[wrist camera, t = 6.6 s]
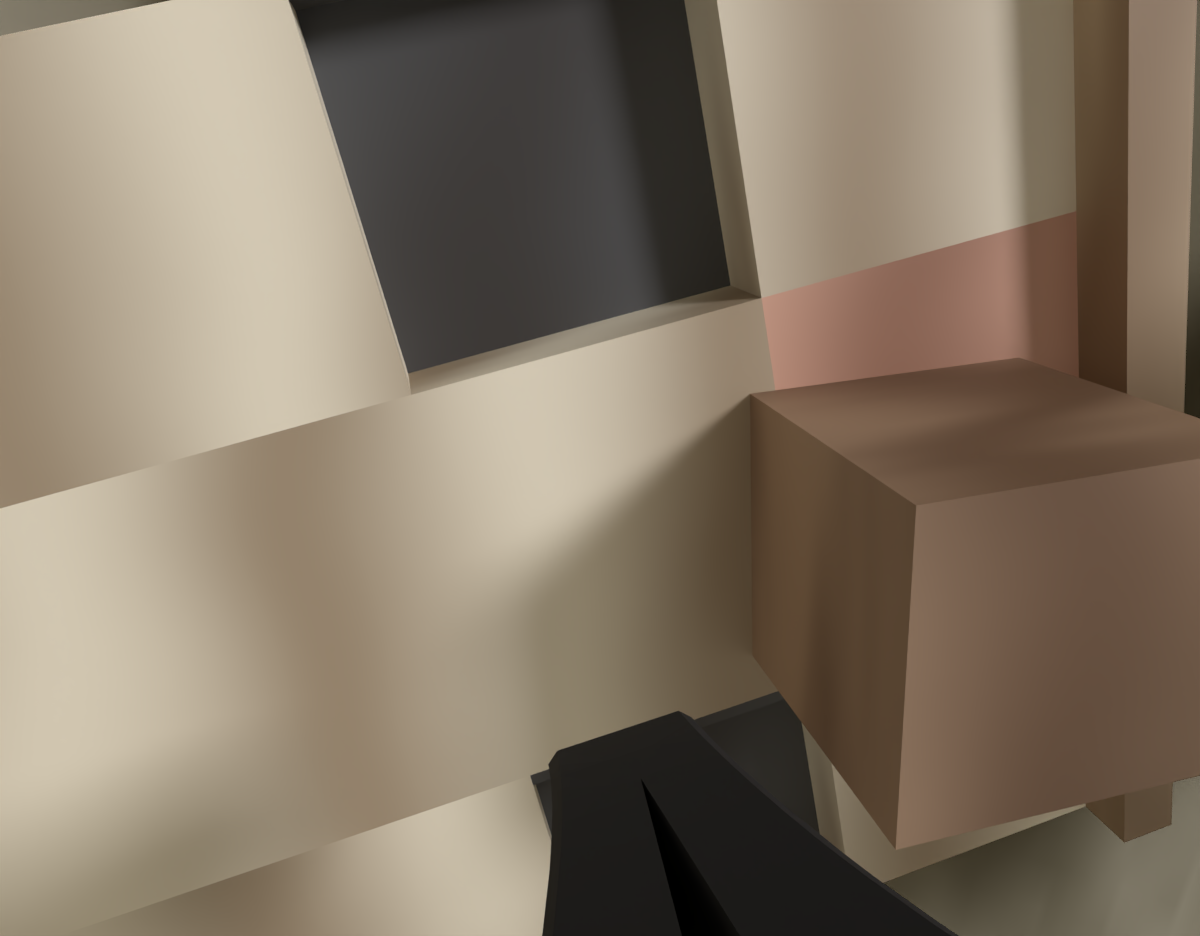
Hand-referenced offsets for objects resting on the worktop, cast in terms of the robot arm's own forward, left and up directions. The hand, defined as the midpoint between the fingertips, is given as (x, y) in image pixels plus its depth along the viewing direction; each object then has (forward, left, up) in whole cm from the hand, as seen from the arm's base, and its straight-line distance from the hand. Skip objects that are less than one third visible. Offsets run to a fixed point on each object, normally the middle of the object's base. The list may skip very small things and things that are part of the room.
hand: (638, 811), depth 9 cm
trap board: (0, 0, -7) cm, 7 cm away
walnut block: (-4, -3, -5) cm, 7 cm away
